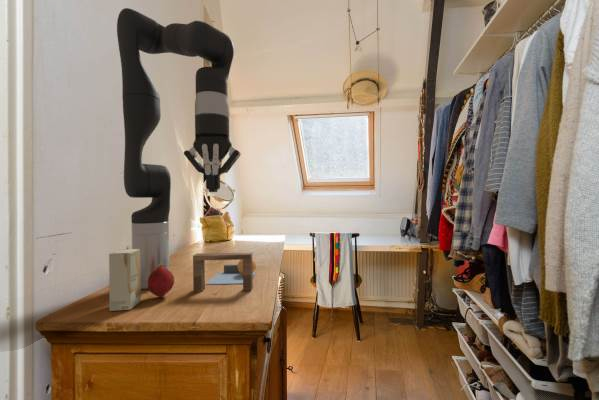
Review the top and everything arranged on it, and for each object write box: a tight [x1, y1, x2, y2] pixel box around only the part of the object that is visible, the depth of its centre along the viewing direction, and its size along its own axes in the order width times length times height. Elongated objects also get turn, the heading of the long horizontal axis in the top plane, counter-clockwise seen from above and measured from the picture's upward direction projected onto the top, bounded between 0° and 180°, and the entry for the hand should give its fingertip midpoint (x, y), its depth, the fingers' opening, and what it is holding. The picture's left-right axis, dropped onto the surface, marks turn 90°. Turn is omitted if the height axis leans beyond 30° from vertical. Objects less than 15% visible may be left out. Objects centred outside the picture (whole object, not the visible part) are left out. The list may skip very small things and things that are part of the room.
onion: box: [147, 264, 175, 298], centre depth 72 cm, size 6×6×8 cm
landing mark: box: [205, 271, 256, 286], centre depth 88 cm, size 12×12×1 cm
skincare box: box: [108, 248, 142, 312], centre depth 66 cm, size 6×4×12 cm
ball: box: [237, 258, 257, 275], centre depth 92 cm, size 6×6×6 cm
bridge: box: [192, 252, 254, 293], centre depth 77 cm, size 3×14×9 cm, turn 91°
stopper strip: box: [223, 264, 240, 273], centre depth 95 cm, size 8×1×2 cm, turn 91°
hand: (213, 191), depth 69 cm, fingers closed
